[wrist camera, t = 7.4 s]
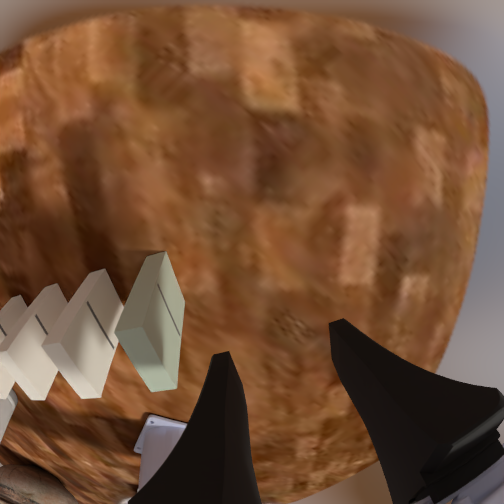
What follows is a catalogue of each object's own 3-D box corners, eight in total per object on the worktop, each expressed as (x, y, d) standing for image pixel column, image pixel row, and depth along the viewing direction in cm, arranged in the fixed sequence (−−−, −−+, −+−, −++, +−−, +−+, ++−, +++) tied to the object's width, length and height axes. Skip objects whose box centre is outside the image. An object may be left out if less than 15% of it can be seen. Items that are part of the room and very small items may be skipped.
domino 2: (57, 282, 18) (6, 351, 11) (80, 325, 20) (45, 399, 13) (45, 287, 18) (-6, 352, 11) (68, 328, 20) (31, 399, 12)
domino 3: (105, 268, 18) (59, 342, 11) (128, 315, 20) (100, 397, 13) (89, 273, 18) (41, 345, 11) (112, 318, 20) (81, 398, 13)
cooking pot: (28, 479, 35) (19, 517, 23) (-21, 435, 27) (-37, 478, 16) (113, 501, 37) (110, 548, 26) (66, 463, 29) (54, 523, 18)
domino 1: (20, 294, 18) (-28, 355, 11) (43, 333, 20) (6, 399, 12) (11, 297, 18) (-37, 356, 11) (33, 335, 20) (-4, 398, 12)
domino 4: (166, 251, 18) (142, 326, 11) (185, 301, 20) (177, 388, 13) (146, 256, 18) (113, 332, 11) (166, 306, 20) (151, 391, 13)
